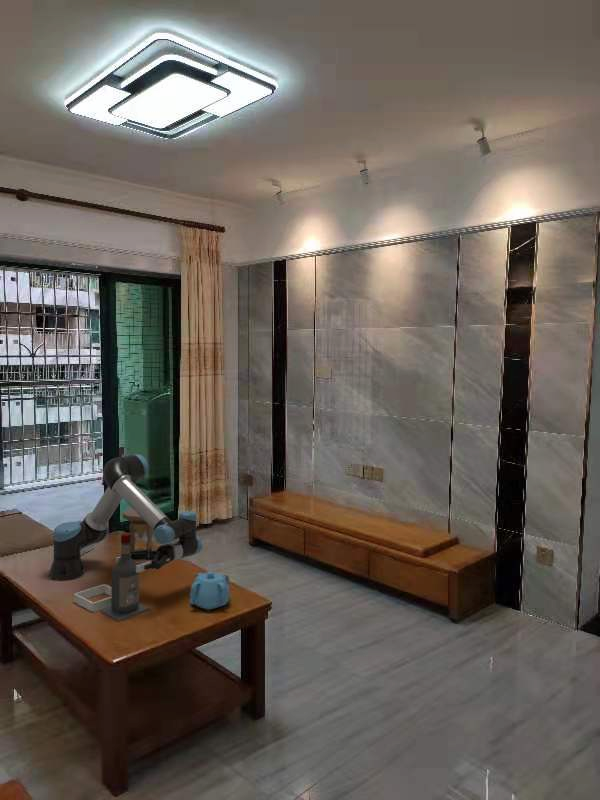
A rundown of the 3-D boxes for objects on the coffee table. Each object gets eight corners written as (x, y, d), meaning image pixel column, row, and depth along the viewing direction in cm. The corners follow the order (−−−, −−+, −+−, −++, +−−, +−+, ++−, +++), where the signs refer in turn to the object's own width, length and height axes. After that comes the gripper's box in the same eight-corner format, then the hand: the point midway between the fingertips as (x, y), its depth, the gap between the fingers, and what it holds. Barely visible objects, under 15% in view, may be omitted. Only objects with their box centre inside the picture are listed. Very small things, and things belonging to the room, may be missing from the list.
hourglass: (116, 560, 289) (116, 510, 288) (148, 553, 301) (148, 505, 300) (132, 569, 276) (132, 518, 275) (165, 562, 288) (165, 512, 287)
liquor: (141, 608, 232) (142, 534, 230) (122, 615, 225) (122, 539, 223) (128, 601, 237) (128, 529, 235) (108, 608, 230) (109, 534, 228)
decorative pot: (233, 598, 247) (234, 566, 246) (224, 614, 231) (225, 580, 230) (196, 595, 248) (197, 564, 248) (185, 611, 232) (185, 577, 232)
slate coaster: (100, 611, 230) (100, 609, 230) (130, 601, 240) (130, 598, 240) (119, 621, 221) (119, 619, 221) (149, 610, 232) (149, 607, 232)
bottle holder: (73, 602, 238) (73, 593, 238) (104, 591, 249) (104, 583, 249) (92, 612, 229) (92, 603, 229) (124, 601, 240) (124, 593, 240)
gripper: (188, 568, 238) (145, 582, 222) (151, 554, 254) (108, 566, 238) (188, 550, 238) (145, 563, 222) (151, 537, 254) (108, 548, 237)
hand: (126, 565), depth 230 cm, fingers open, 13 cm apart
